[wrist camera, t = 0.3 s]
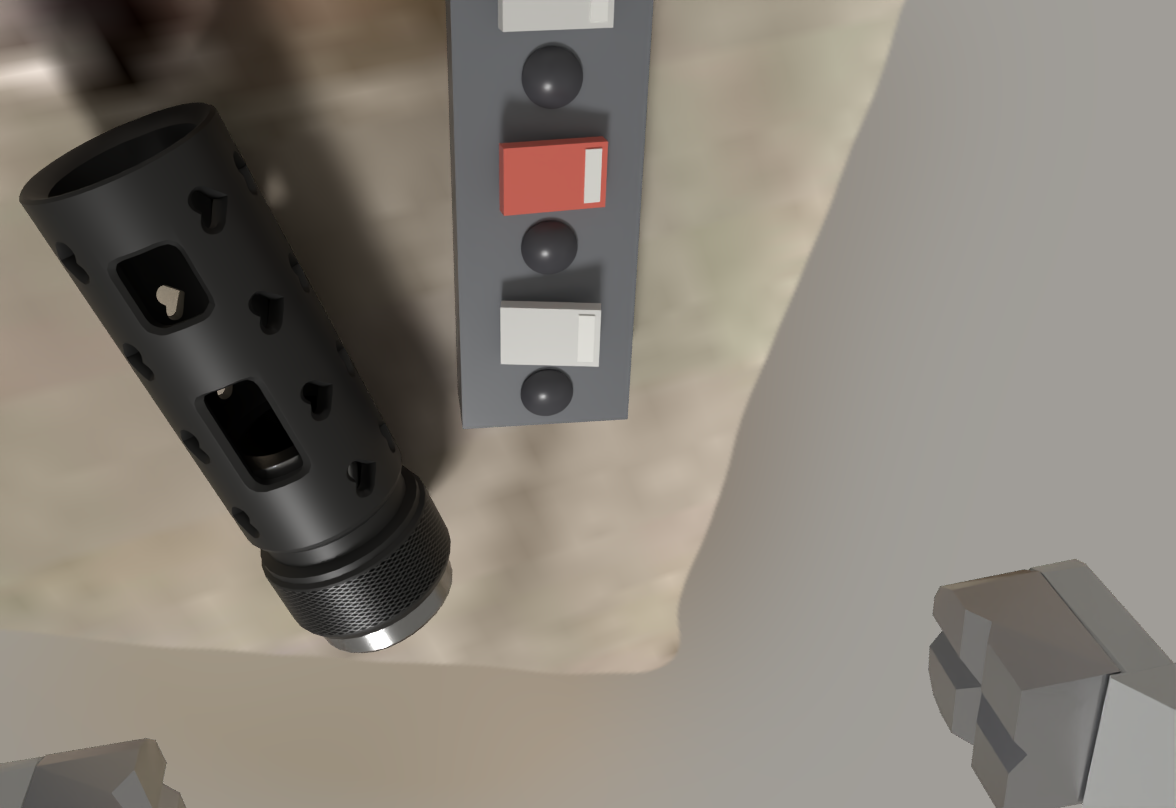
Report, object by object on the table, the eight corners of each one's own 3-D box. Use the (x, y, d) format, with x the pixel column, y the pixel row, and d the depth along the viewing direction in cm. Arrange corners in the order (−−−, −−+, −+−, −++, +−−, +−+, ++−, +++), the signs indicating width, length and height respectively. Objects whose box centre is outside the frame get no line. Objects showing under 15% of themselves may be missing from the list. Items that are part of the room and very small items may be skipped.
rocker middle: (498, 143, 50) (503, 149, 49) (602, 136, 52) (608, 141, 51) (499, 209, 52) (504, 216, 51) (599, 201, 53) (605, 207, 52)
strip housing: (443, -89, 49) (448, -76, 46) (639, -87, 51) (658, -73, 47) (457, 391, 62) (462, 430, 59) (614, 382, 64) (628, 420, 60)
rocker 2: (501, 300, 55) (500, 308, 54) (600, 303, 55) (601, 310, 54) (501, 356, 57) (500, 364, 56) (598, 359, 57) (598, 367, 56)
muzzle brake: (233, 74, 52) (205, 143, 43) (459, 509, 67) (472, 626, 58) (47, 147, 52) (-19, 231, 43) (314, 564, 67) (305, 688, 58)
